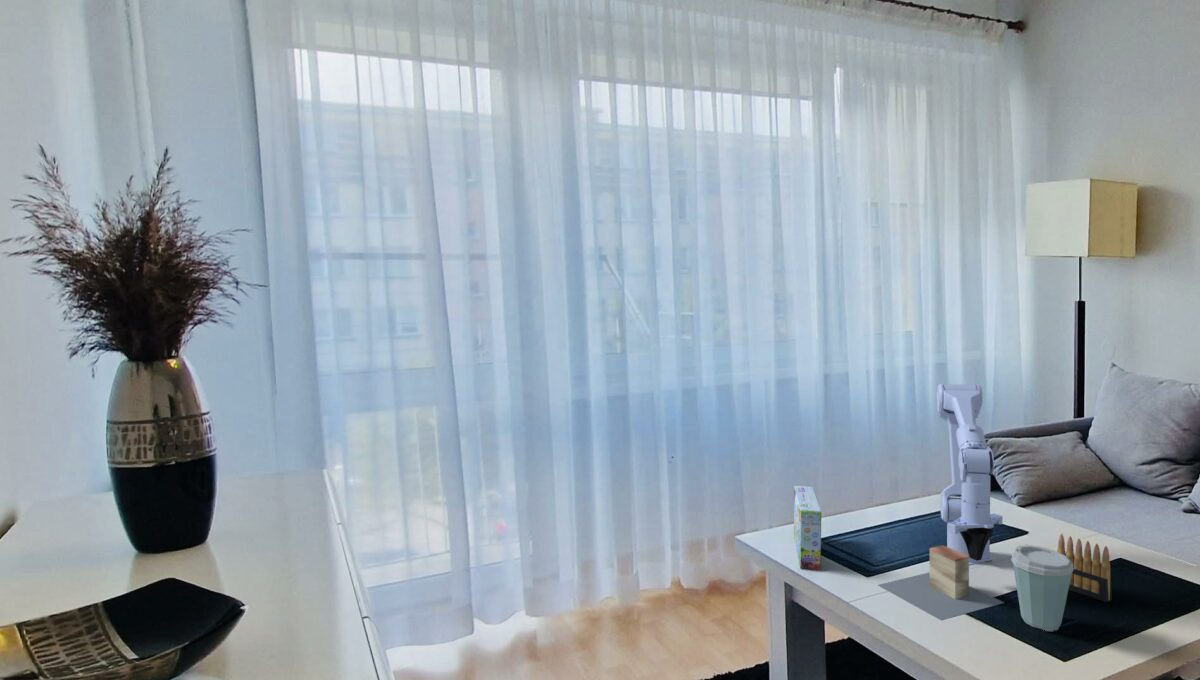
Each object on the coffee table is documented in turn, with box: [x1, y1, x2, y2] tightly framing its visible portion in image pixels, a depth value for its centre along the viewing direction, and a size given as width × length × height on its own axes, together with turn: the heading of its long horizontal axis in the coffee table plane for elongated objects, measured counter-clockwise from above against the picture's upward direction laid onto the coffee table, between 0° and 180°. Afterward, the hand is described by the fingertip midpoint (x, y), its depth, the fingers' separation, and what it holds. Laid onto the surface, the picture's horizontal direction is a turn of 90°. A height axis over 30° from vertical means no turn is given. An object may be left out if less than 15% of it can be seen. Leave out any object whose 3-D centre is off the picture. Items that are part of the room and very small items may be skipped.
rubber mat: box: [877, 571, 1005, 621], centre depth 151 cm, size 18×18×1 cm
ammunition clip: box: [1056, 533, 1113, 603], centre depth 149 cm, size 11×2×12 cm, turn 29°
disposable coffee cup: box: [1010, 544, 1074, 632], centre depth 136 cm, size 11×11×15 cm
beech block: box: [929, 545, 970, 599], centre depth 151 cm, size 4×7×9 cm, turn 20°
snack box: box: [793, 485, 822, 570], centre depth 176 cm, size 21×6×15 cm, turn 168°
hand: (975, 558), depth 154 cm, fingers closed
